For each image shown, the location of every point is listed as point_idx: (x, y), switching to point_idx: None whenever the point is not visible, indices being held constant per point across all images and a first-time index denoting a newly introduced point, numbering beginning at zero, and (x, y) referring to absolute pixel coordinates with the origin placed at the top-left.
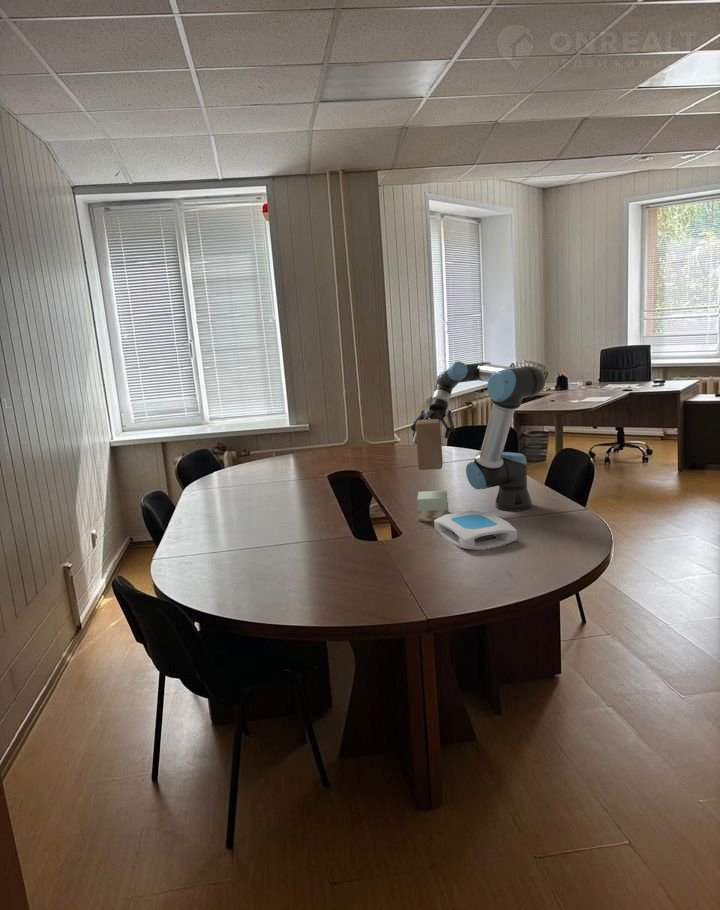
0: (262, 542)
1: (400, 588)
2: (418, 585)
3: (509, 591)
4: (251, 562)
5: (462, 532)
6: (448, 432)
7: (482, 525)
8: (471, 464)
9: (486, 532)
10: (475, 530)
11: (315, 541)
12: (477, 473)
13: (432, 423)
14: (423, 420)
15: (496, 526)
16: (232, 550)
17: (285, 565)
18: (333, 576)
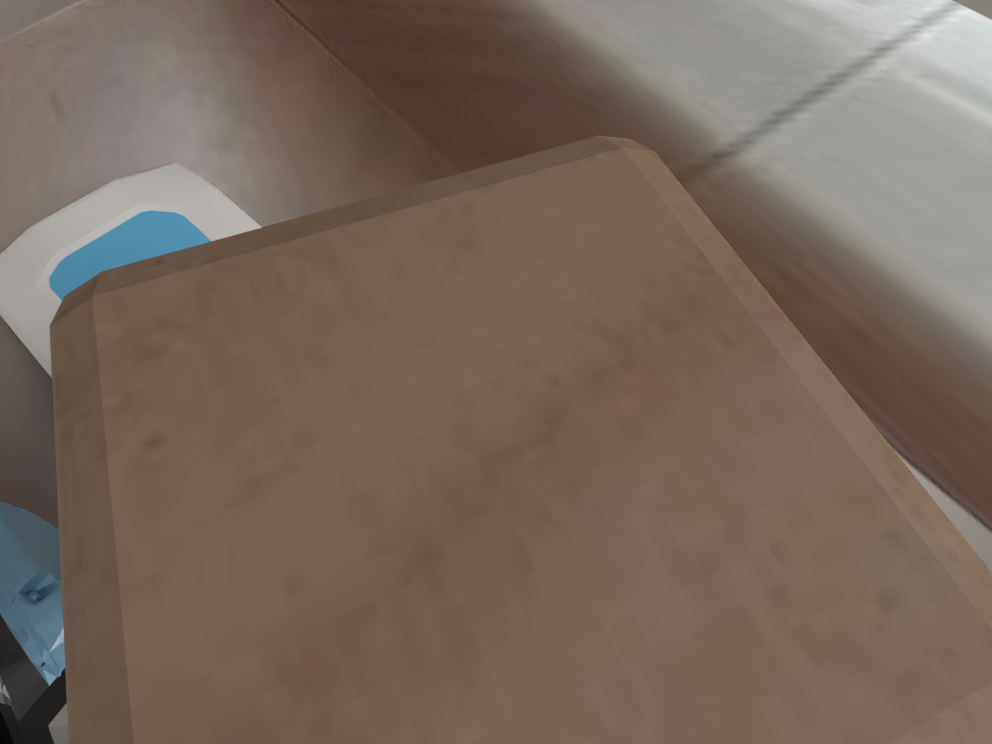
0: (843, 119)
1: (308, 9)
2: (274, 25)
3: (61, 42)
4: (732, 29)
5: (184, 181)
6: (32, 711)
7: (112, 254)
8: (10, 536)
9: (92, 193)
10: (134, 197)
11: (702, 158)
12: (10, 506)
13: (240, 233)
14: (741, 575)
15: (51, 250)
16: (856, 65)
17: (638, 34)
18: (485, 18)
